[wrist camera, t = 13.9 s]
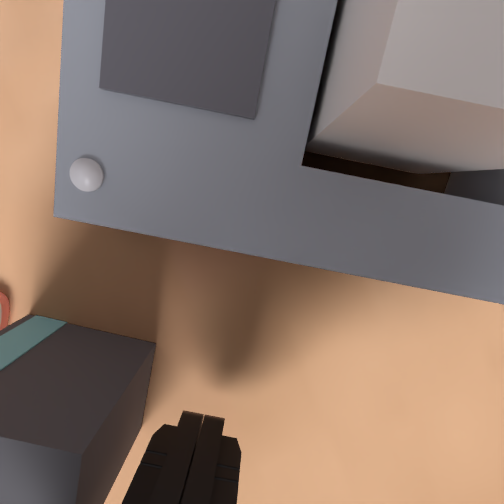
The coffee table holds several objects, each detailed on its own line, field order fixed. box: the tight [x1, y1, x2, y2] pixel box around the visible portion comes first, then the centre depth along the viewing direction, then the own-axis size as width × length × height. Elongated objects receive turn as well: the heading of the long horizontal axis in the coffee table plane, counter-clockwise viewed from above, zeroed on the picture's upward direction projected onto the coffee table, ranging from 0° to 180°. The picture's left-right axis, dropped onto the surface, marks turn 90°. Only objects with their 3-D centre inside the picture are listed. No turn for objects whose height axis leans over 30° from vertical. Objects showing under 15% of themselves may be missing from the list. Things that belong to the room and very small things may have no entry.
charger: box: [305, 0, 504, 174], centre depth 6 cm, size 4×4×7 cm
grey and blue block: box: [0, 315, 156, 504], centre depth 10 cm, size 5×4×5 cm
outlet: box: [54, 0, 504, 304], centre depth 8 cm, size 14×10×3 cm
